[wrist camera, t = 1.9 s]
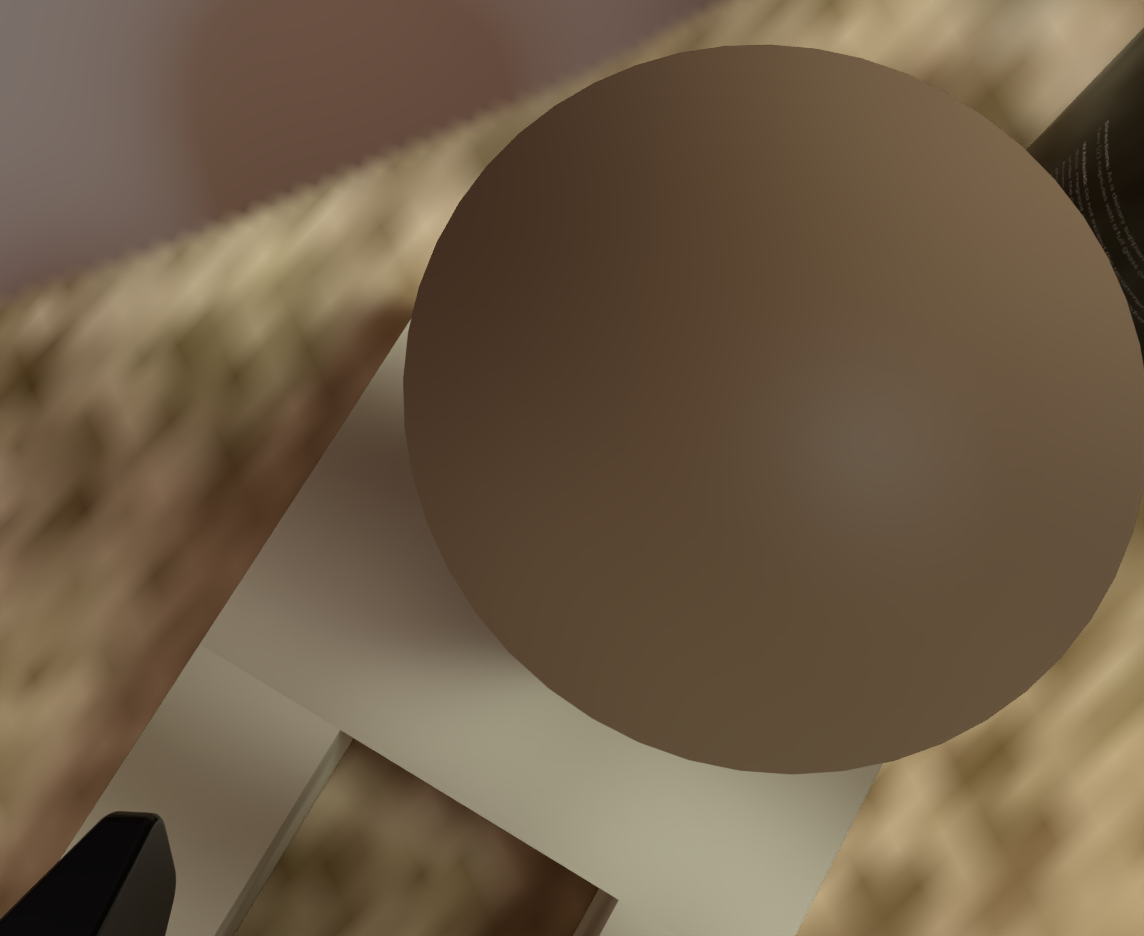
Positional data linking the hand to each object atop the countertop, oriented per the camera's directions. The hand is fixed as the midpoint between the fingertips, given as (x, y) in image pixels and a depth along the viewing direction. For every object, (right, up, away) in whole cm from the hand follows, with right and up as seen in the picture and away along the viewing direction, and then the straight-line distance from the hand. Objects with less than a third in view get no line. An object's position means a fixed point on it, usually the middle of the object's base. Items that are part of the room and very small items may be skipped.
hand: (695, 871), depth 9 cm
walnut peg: (0, +2, +10) cm, 10 cm away
